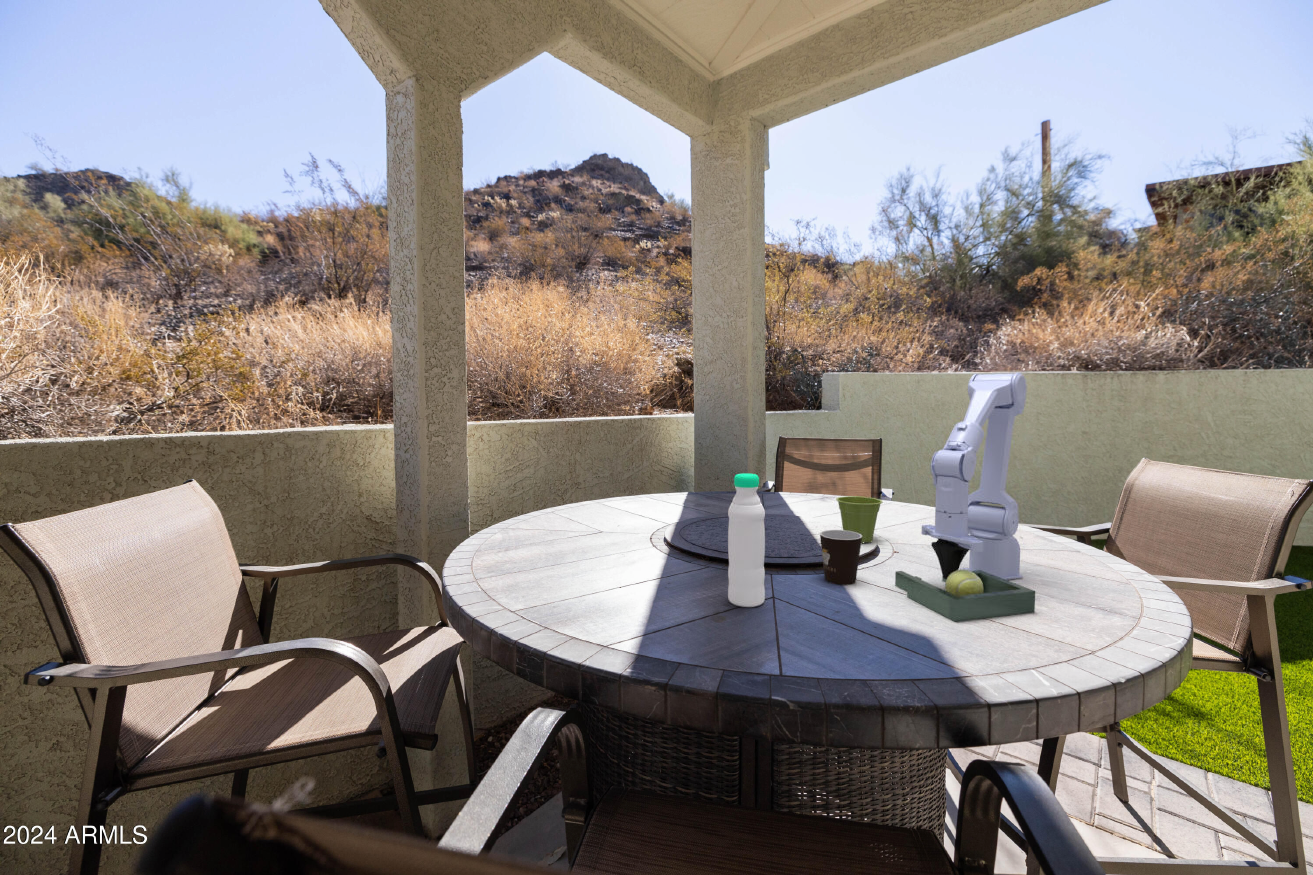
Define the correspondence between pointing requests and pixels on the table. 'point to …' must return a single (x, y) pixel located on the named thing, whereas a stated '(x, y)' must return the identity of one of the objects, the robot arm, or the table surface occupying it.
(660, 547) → the table surface
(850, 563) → the coffee mug
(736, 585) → the water bottle
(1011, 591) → the chute bay
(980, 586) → the tennis ball
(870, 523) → the plant pot
